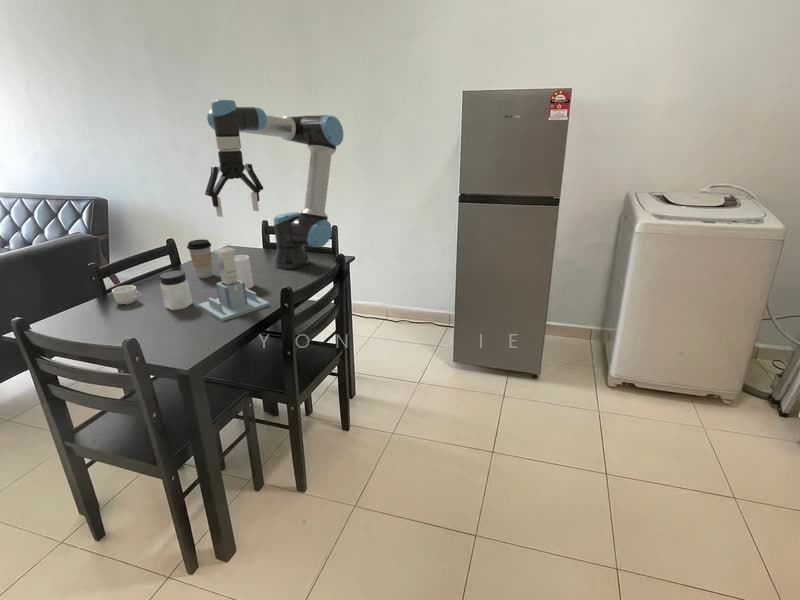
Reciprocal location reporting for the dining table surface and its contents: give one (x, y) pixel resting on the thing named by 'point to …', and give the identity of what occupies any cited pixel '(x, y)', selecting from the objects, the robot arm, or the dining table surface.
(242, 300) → the stand base
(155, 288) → the dining table surface
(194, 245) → the coffee cup
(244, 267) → the mug
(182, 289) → the jar
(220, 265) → the column
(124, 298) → the teacup
